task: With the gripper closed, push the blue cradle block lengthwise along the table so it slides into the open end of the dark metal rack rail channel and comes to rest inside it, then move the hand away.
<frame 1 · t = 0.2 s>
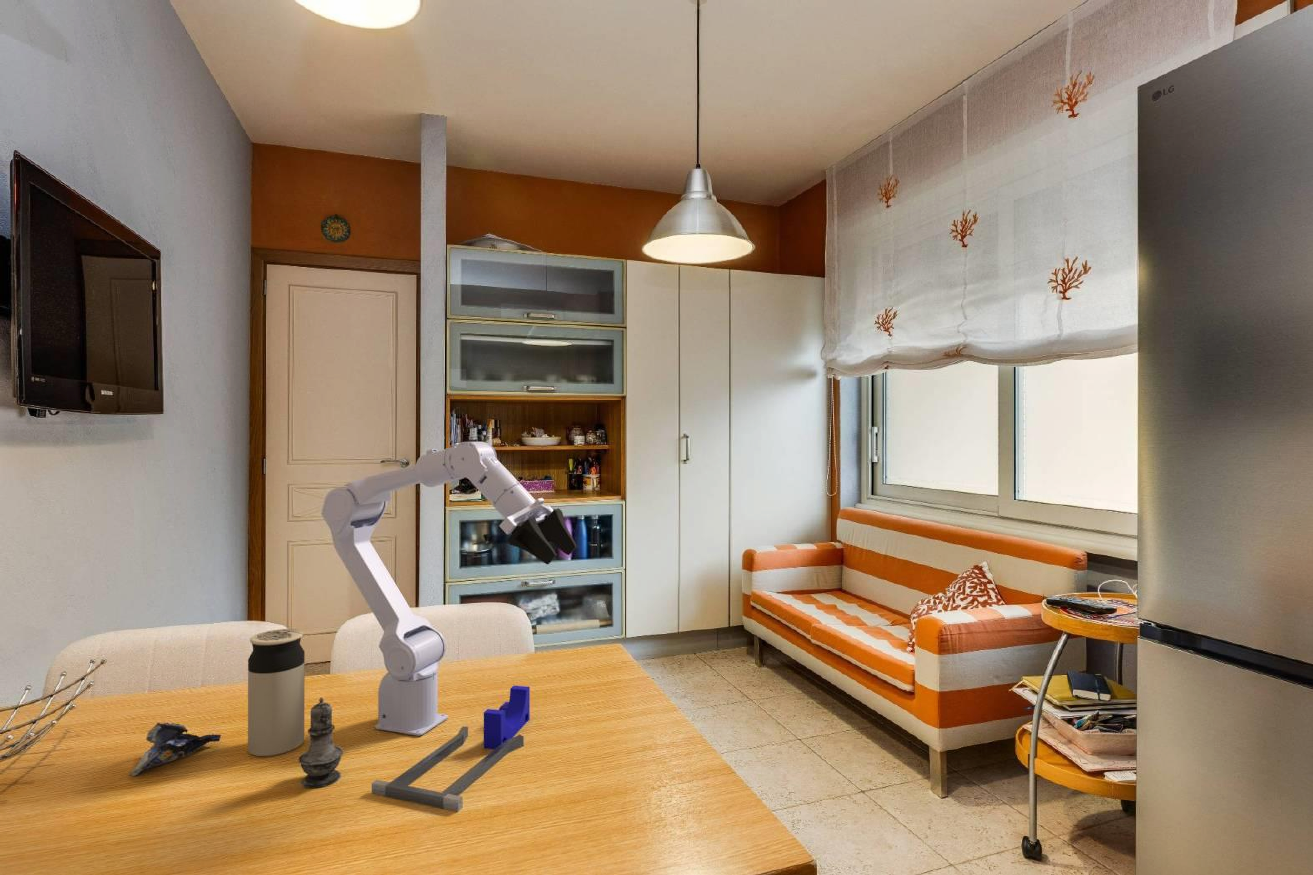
hand: (562, 555, 109), 31 cm above the table, tool tilted 45°, fingers open, 7 cm apart
snack package: (173, 759, 106), on the table
rack rail: (453, 771, 101), on the table
salt shaker: (321, 780, 99), on the table
blue cradle block: (503, 735, 114), on the table
travel mug: (276, 747, 109), on the table
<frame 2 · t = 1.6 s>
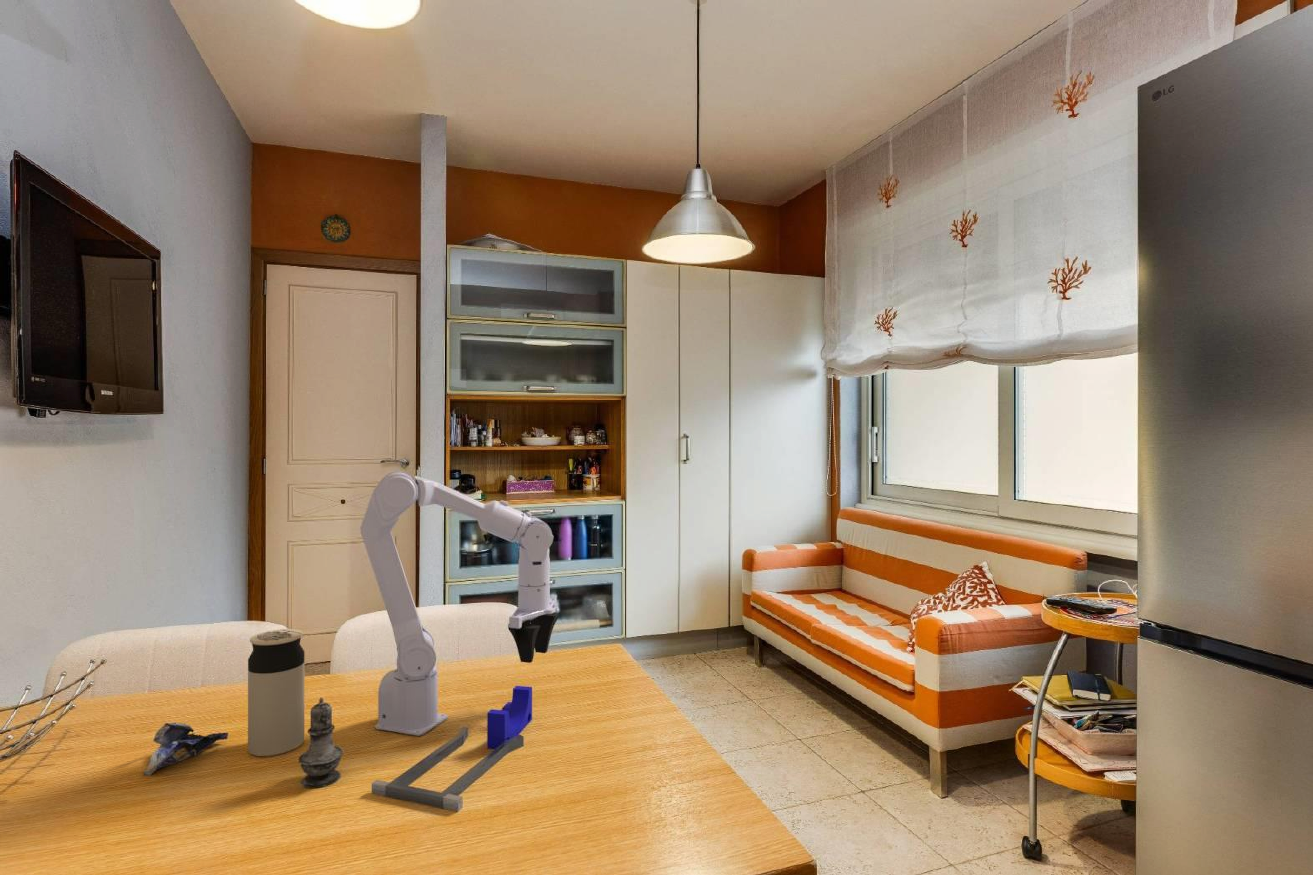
hand: (534, 656, 125), 9 cm above the table, tool pointing down, fingers open, 5 cm apart
snack package: (182, 758, 106), on the table
everything else where it was.
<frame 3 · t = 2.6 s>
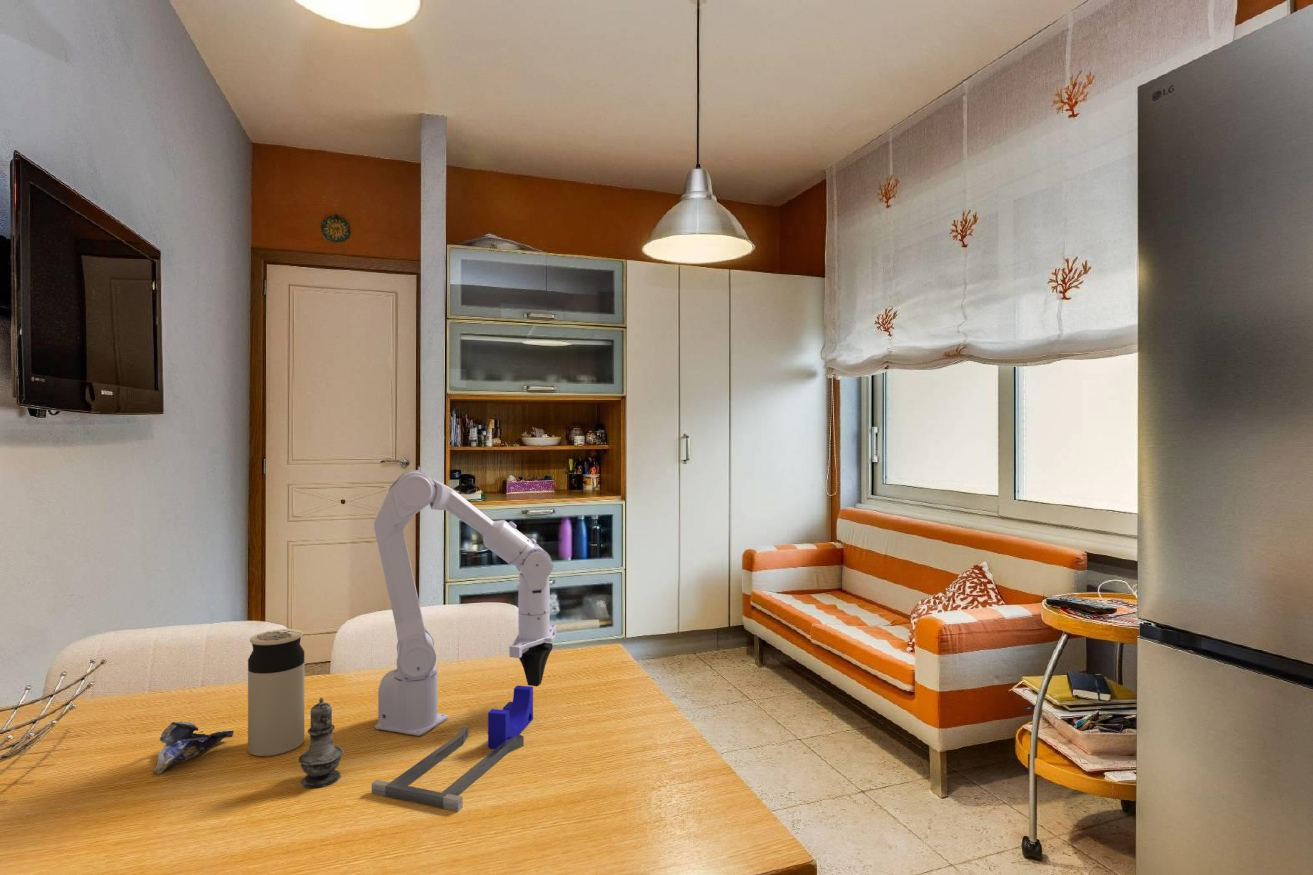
hand: (534, 684, 125), 4 cm above the table, tool pointing down, fingers closed
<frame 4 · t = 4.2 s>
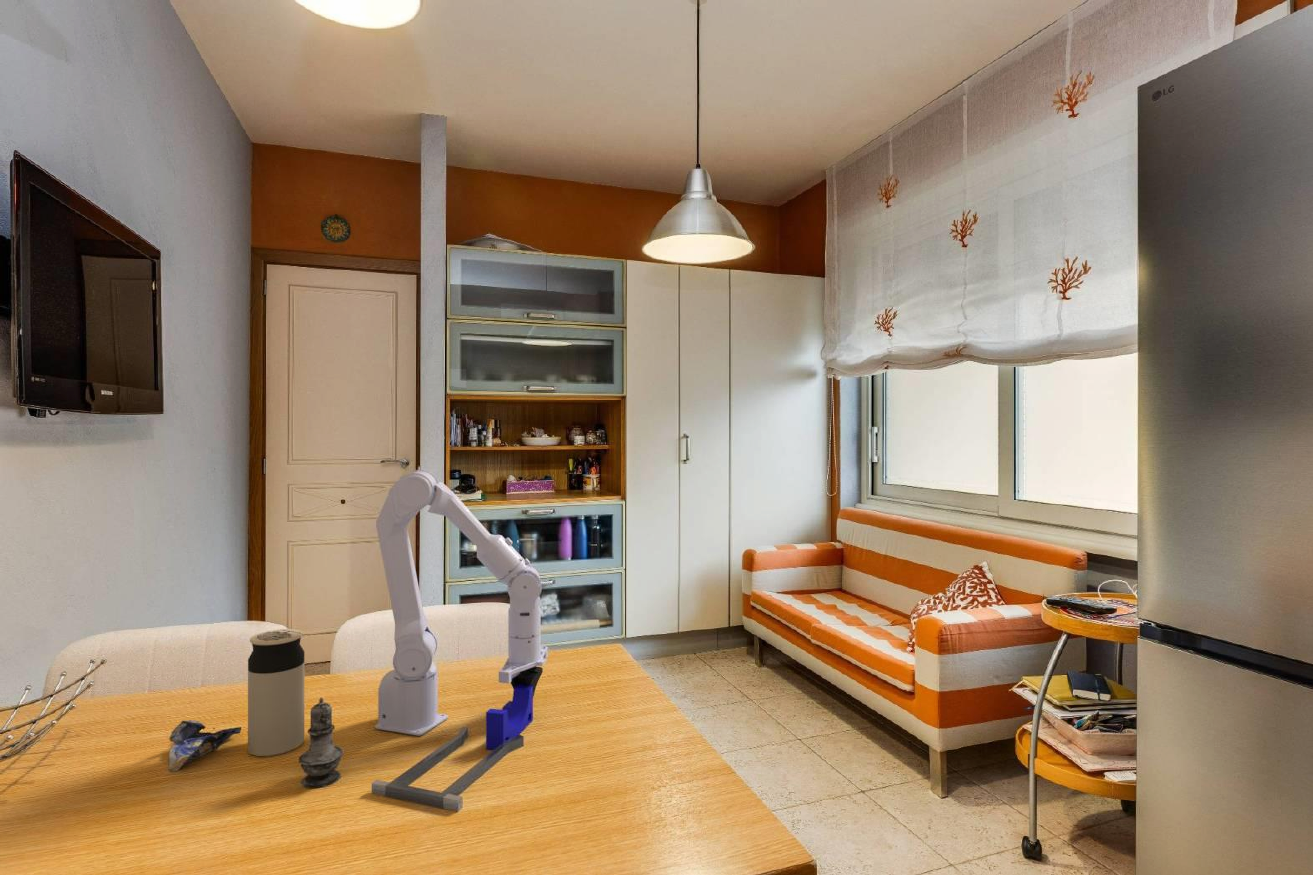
hand: (524, 709, 121), 1 cm above the table, tool pointing down, fingers closed, pressing on blue cradle block
snack package: (198, 754, 107), on the table
blue cradle block: (506, 734, 114), on the table, touching gripper, rack rail
everything else where it was.
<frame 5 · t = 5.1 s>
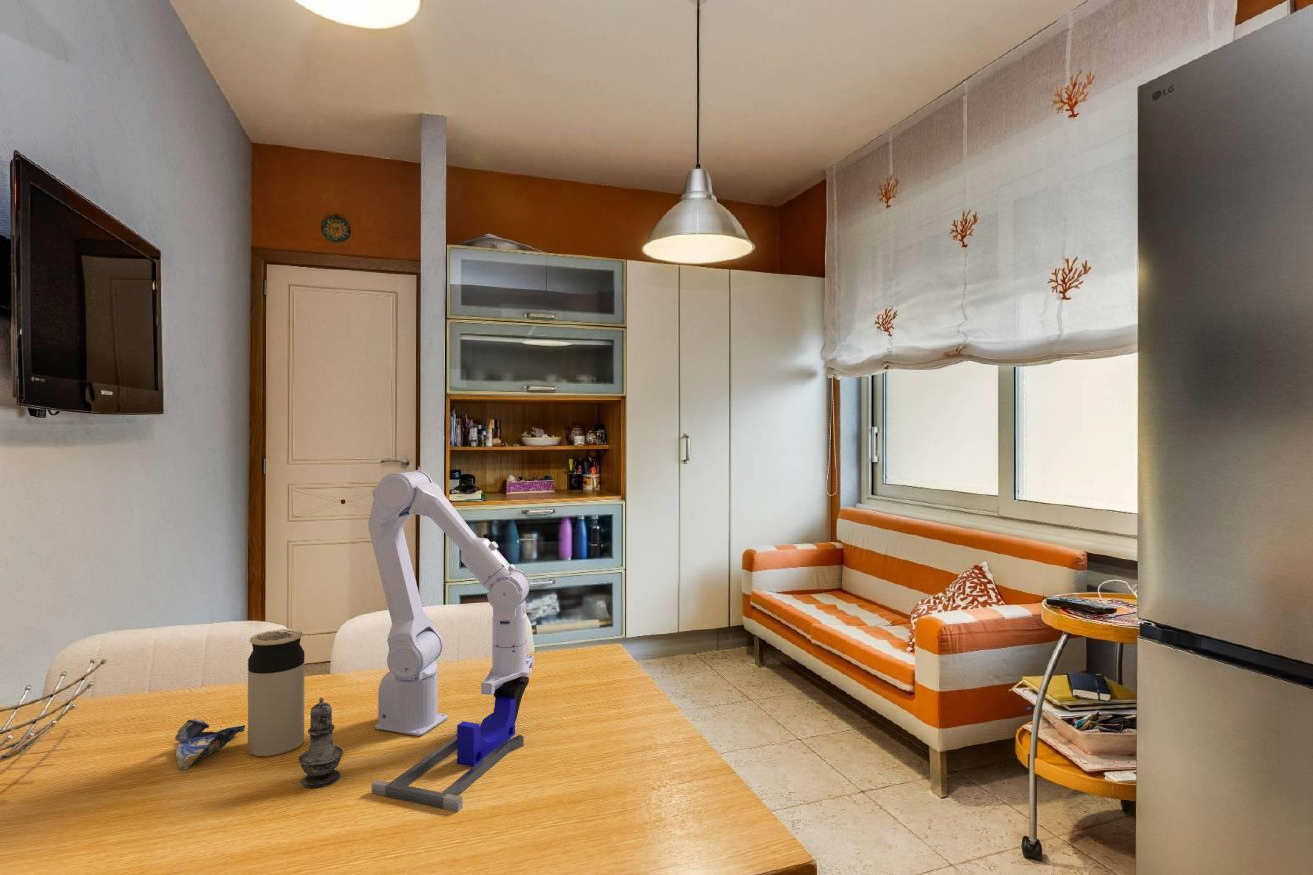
hand: (509, 721, 116), 1 cm above the table, tool pointing down, fingers closed
blue cradle block: (483, 748, 109), on the table, touching gripper
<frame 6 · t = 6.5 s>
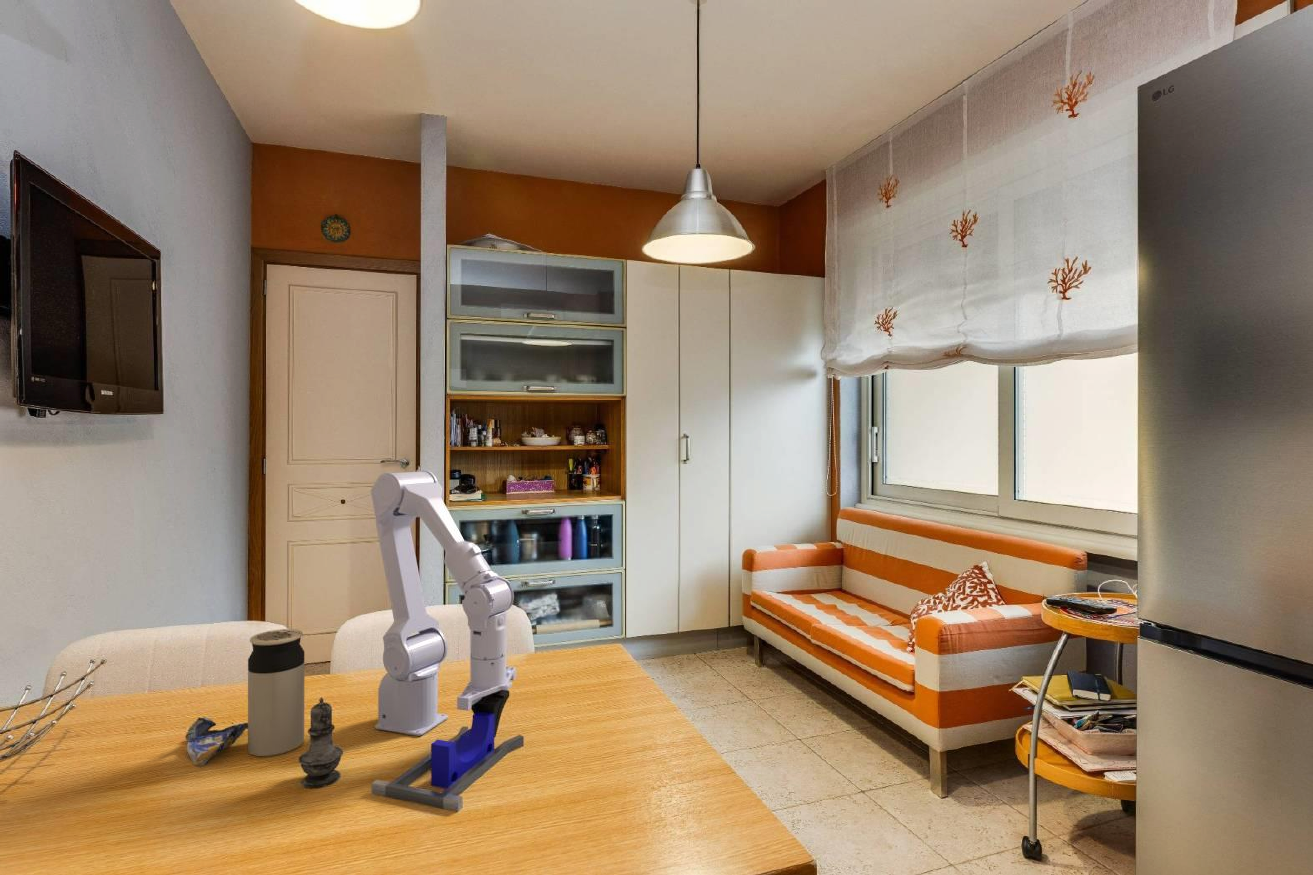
hand: (488, 737, 110), 1 cm above the table, tool pointing down, fingers closed
snack package: (214, 750, 109), on the table
blue cradle block: (460, 767, 102), on the table, touching gripper
everything else where it was.
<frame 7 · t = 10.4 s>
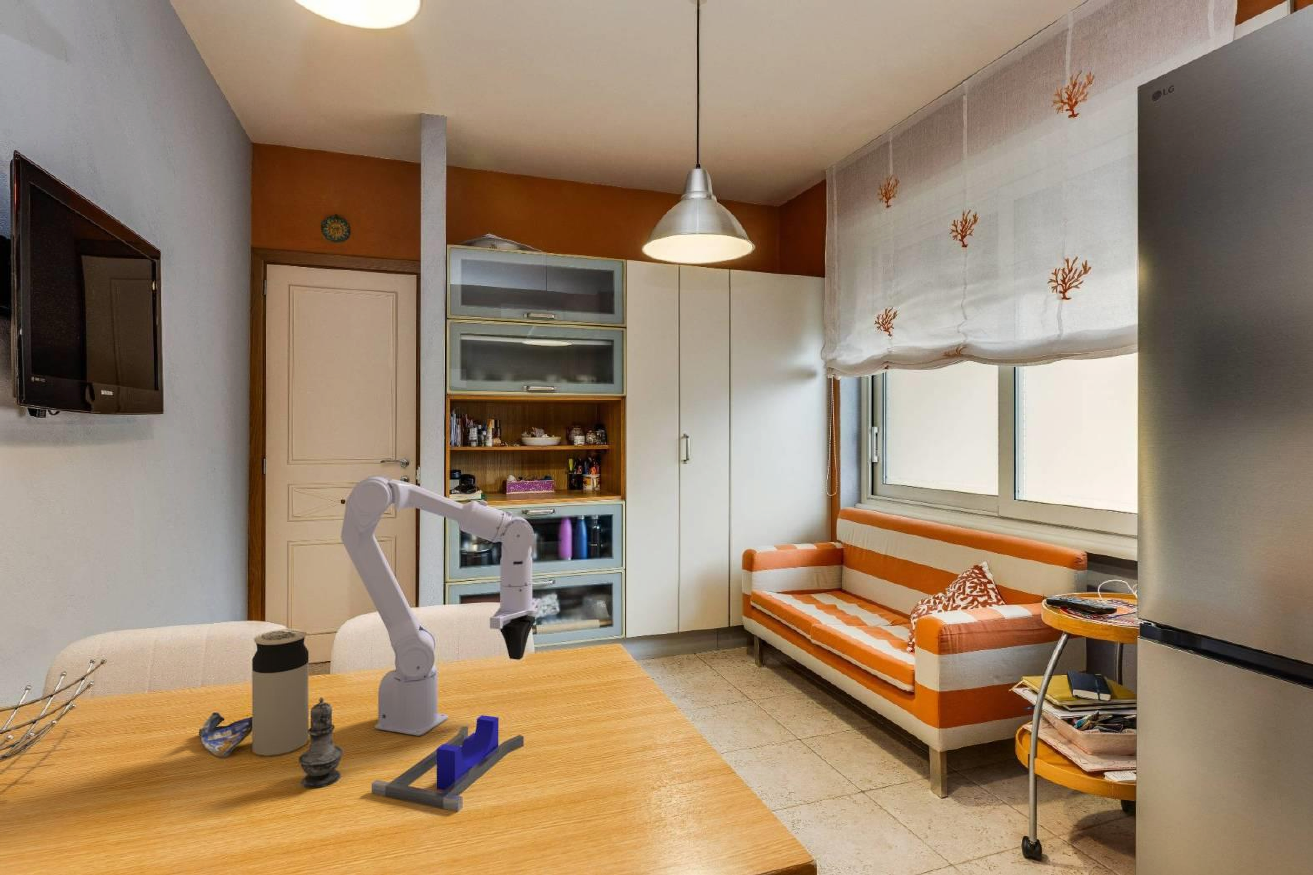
hand: (516, 658, 122), 10 cm above the table, tool pointing down, fingers closed
snack package: (227, 744, 111), on the table
blue cradle block: (464, 772, 101), on the table
everything else where it was.
at the end: blue cradle block inside the target area on the rack rail (2.0 cm from its centre), point 0.0 cm above the rack rail's base; blue cradle block moved 13.0 cm from its start; blue cradle block tilted 0° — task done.
